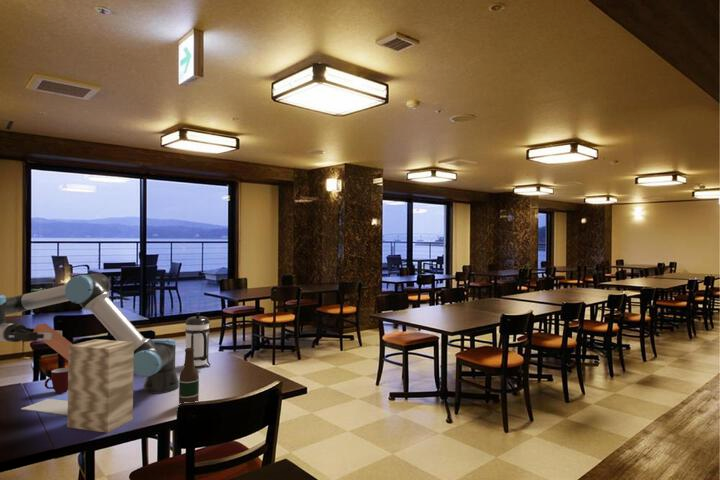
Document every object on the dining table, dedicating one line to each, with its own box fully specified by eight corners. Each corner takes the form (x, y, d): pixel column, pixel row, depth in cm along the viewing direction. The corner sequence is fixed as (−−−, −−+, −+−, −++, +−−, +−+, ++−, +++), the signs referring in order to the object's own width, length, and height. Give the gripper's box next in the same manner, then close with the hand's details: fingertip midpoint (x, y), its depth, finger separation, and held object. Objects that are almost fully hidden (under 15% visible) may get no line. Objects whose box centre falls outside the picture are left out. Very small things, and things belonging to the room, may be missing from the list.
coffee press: (175, 369, 238) (176, 314, 239) (191, 362, 254) (192, 309, 255) (205, 371, 236) (206, 315, 236) (219, 363, 251) (220, 311, 252)
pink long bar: (92, 370, 182) (96, 362, 181) (83, 373, 178) (88, 364, 177) (41, 330, 188) (45, 323, 187) (32, 332, 184) (36, 324, 183)
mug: (49, 398, 193) (49, 375, 193) (41, 394, 198) (41, 372, 198) (75, 391, 202) (75, 369, 202) (67, 388, 207) (67, 366, 207)
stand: (132, 419, 170) (133, 342, 171) (107, 432, 159) (109, 349, 159) (94, 415, 175) (95, 339, 175) (67, 427, 163) (68, 345, 163)
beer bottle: (186, 410, 181) (187, 351, 181) (174, 406, 185) (175, 348, 185) (202, 404, 188) (203, 347, 188) (190, 400, 192) (191, 345, 192)
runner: (105, 406, 184) (105, 405, 184) (81, 417, 173) (81, 416, 173) (48, 399, 191) (48, 398, 191) (20, 409, 180) (20, 408, 180)
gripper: (30, 337, 197) (74, 339, 192) (-10, 345, 181) (36, 348, 175) (31, 320, 197) (74, 322, 192) (-9, 327, 181) (37, 329, 175)
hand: (56, 335), depth 184 cm, fingers closed on pink long bar, 4 cm apart
